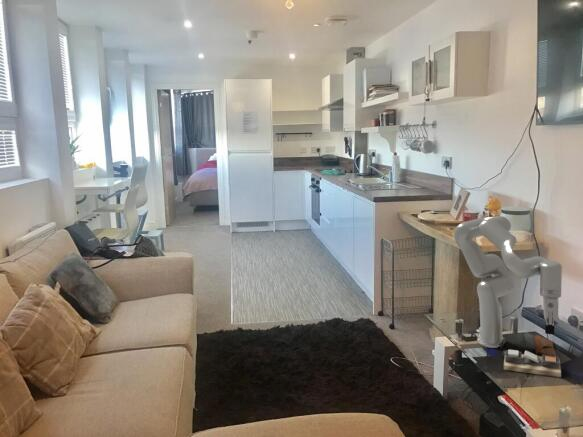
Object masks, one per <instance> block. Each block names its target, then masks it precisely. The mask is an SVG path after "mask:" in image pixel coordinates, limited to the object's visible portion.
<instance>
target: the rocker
mask: <svg viewBox="0 0 583 437" xmlns="http://www.w3.org/2000/svg"><path fill="white" fill-rule="evenodd" d="M524 357H526V358H528V359H531V360H533V361H535V362H537V363H539V356H538V355H536V353H535V354H534V353H532V352H530V351H528V350H525V351H524Z"/></svg>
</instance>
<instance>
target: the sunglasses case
mask: <svg viewBox="0 0 583 437" xmlns="http://www.w3.org/2000/svg"><path fill="white" fill-rule="evenodd" d="M532 340H533V345H534V351H535V355H538V356H542V354H543V355H551V356H557V354H556V351H555V347H554V346H555V345H554V341H552V340H550V339H547V338H545V337H542V336H541V335H538V334H534V335H533V337H532Z"/></svg>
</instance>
